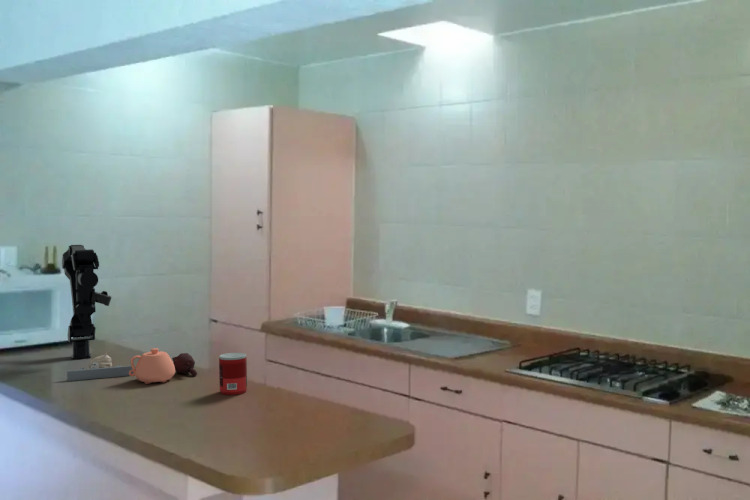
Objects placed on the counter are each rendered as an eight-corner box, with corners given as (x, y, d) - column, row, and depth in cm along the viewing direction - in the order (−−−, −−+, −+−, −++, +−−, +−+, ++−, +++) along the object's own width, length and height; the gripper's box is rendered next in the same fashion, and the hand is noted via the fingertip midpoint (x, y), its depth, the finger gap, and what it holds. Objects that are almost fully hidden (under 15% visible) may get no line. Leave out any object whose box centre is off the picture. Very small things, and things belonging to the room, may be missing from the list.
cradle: (67, 376, 236) (67, 367, 236) (132, 371, 244) (132, 362, 243) (67, 381, 231) (67, 371, 230) (133, 375, 238) (133, 366, 238)
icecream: (160, 352, 242) (182, 363, 231) (180, 344, 247) (202, 354, 236) (165, 371, 244) (186, 383, 233) (184, 363, 249) (206, 374, 238)
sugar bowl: (176, 383, 227) (176, 350, 226) (129, 387, 222) (128, 354, 222) (174, 374, 238) (173, 343, 238) (128, 378, 234) (128, 346, 233)
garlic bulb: (95, 377, 235) (94, 353, 234) (86, 374, 239) (86, 350, 239) (114, 374, 240) (114, 350, 239) (106, 371, 244) (105, 347, 244)
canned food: (252, 391, 216) (251, 354, 215) (230, 396, 210) (229, 359, 209) (236, 387, 221) (236, 351, 221) (214, 392, 215) (213, 355, 215)
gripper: (110, 287, 247) (111, 332, 248) (108, 282, 265) (110, 324, 266) (75, 288, 243) (76, 335, 244) (75, 283, 261) (77, 326, 262)
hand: (86, 330), depth 254 cm, fingers closed
